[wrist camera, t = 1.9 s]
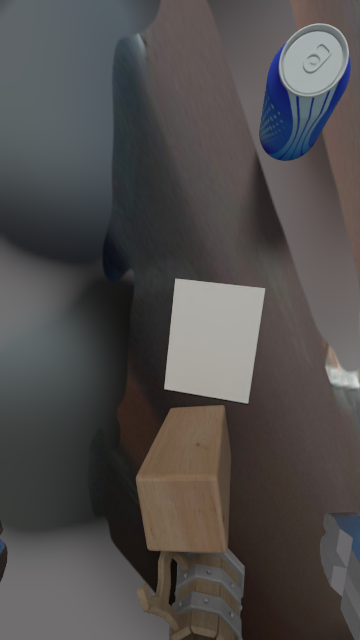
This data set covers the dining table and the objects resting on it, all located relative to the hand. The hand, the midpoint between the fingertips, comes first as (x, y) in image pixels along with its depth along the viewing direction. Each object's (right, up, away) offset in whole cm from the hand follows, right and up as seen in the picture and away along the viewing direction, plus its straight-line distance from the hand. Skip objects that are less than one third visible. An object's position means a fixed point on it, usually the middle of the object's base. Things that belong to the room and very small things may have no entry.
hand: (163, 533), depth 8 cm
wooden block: (+4, -15, +48) cm, 50 cm away
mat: (+6, +2, +45) cm, 45 cm away
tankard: (+4, -41, +51) cm, 66 cm away
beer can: (+17, +34, +38) cm, 53 cm away
